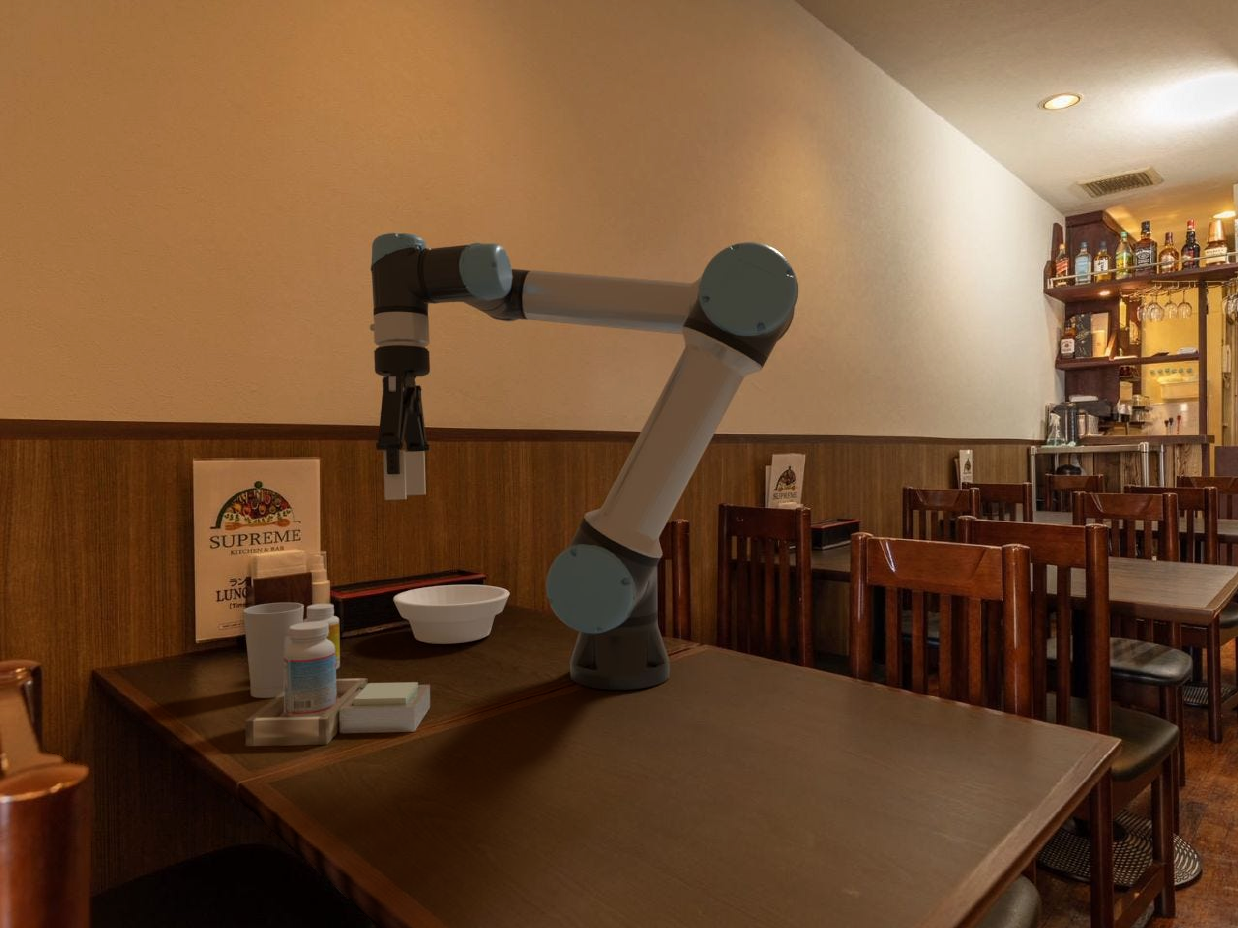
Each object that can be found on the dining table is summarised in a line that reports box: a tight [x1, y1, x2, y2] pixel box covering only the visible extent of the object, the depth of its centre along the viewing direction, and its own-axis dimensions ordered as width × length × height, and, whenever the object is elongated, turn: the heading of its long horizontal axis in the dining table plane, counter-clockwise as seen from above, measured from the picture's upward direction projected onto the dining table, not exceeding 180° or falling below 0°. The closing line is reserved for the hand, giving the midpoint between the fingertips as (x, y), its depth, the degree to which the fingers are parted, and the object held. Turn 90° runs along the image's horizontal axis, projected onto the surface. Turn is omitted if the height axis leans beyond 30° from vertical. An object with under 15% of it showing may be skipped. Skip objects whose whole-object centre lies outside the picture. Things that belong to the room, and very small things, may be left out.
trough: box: [244, 677, 368, 747], centre depth 95 cm, size 9×16×3 cm, turn 2°
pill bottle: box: [284, 621, 337, 717], centre depth 95 cm, size 6×6×11 cm
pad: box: [354, 681, 419, 706], centre depth 96 cm, size 6×6×1 cm
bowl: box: [392, 584, 511, 645], centre depth 139 cm, size 21×21×8 cm
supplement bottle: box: [303, 603, 341, 671], centre depth 118 cm, size 6×6×10 cm
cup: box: [242, 602, 305, 699], centre depth 108 cm, size 8×8×12 cm
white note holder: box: [339, 682, 431, 734], centre depth 96 cm, size 9×9×3 cm
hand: (406, 497), depth 106 cm, fingers open, 13 cm apart
